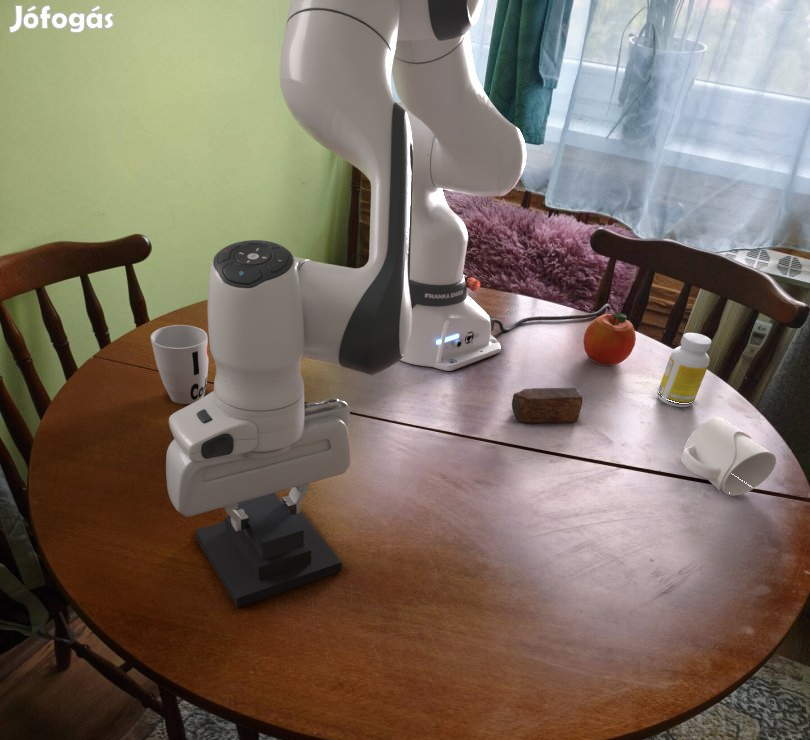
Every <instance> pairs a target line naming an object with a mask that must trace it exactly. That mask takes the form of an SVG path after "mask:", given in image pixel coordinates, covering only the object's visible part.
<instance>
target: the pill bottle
mask: <svg viewBox="0 0 810 740" xmlns="http://www.w3.org/2000/svg"><path fill="white" fill-rule="evenodd" d="M682 335H683V336H682V338H681V340H680V346H677V347H675V348H673V350H672V351H671V353H670V356H669V358H668V361H667V364H666V367H665V369H664V372H663V375H662V378H661V381H660V384H659V387H658V390H657V398H658V399H659V400H660V401H661V402H663V403H665V405H666V404H667V405H669V406H672V407H677V408H686V407H689V406H692V405H693V404H694V402H695V400H696V397H697V395H698V392H699V390H700V387H701V384H702V383H703V380H704V378H705V375H706V373H707V370H708V367H709V365H710V362H711V359H710V356H709V354H708V353H707V352H708V351H709V350H710V348H711V345H712V339H711V338H709V337H708V336H706V335H704V334H701V333H697V332H686V333H684V334H682ZM658 391H659V393H660V394H659V393H658ZM661 395H662V396H663V397H664V398H663V397H662V396H661ZM665 398H666V399H669V400H672V401H675V402H679V403H689V402H692V401H693V402H692V403H689V404H679V403H674V402H671V401H668V400H666V399H665Z"/></svg>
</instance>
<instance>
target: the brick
mask: <svg viewBox="0 0 810 740" xmlns="http://www.w3.org/2000/svg"><path fill="white" fill-rule="evenodd" d="M583 403H584V397H583V396H582V395H581V393H580V392H579V390H578V389H577V388H576V387H537V388H536V387H535V388H534V387H533V388H523V389H522V390H520V391H518V392H515V393H514V394H513V396H512V399H511V409H512V414H513V416H514V419H515V421H516V422H519V423H523V424H567V423H576V422H578V420H579V418H580V413H581V411H582V406H583Z"/></svg>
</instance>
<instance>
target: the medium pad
mask: <svg viewBox="0 0 810 740" xmlns="http://www.w3.org/2000/svg"><path fill="white" fill-rule="evenodd" d="M224 521H225V526H226V531H227V532H228V534H229V535H230V537H231V538H232V540H233V541H234V543H235V544H236V546H237V547H238V549H239V550H240V552H241V553H242V555H243V556H244V558H245V559H246V561H247V563H248V564H249V566H250V567H251V569H252V570H253V572H254V573H255V575H256V576H257V578H258V579H259V580H263V579H266V578H269V577H272V576H274V575H277V574H280V573H283V572H286V571H289V570H292V569H295V568H298V567H301V566H304V565H307V564H310V563H311V549H310V548H309V547H308V546H307V544H306V543H305V542H304V547H301V548H298V549H295V550H292V551H289V552H286V553H283V554H280V555H277V556H274V557H271V558H268V559H264V560H263V559H262V558H261V556H260V555H259V553H258V552H257V550H256V549H255V547H254V546H253V544H252V543H251V541H250V540H249V538H248V537H247V536H246V534H245V533H244V531H243V530H241V531H237V532H236V530H235V529H234V527H233V526H232V523H231V517H230V516H229V515H227V516H224Z"/></svg>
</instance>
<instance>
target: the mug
mask: <svg viewBox="0 0 810 740" xmlns="http://www.w3.org/2000/svg"><path fill="white" fill-rule="evenodd" d="M680 459H681V460H680V461H681V462H682V464H683V466H684V467H685V468H686V469H688V470H689V471H690V472H692V473H693V474H695V475H697V476H699V477H702V478H704V479H706V480H707V481H708V482H709V483H711V485H712V486H714V487H715V488H716V489H717V490H719V491H723V492H724V494H726V495H728V496H732V497H733V496H734V497H735V496H741V495H744V494H746V493H748V492H751V491H752V490H755V488H754V487H756V488H757V487H759V486H760V485H761V484H763V483H764V482H765V481H767V479H768V478H769V476H770V475H771V474H772V473H773V471H774V469H775V467H776V464H777V457H776V455H775V454H774V453H772V452H771V451H770V450H768V449H767V448H765V447H764V446H762V445H760V444H758V443H757V442H755V440H753V438H752V437H751V436H750V435H749V434H748V433H746V432H744V431H743V430H742V429H740V428H738V427H737V426H735V425H734V424H732V423H731V422H729V421H727V420H726V419H724V418H722V417H714V418H710V419H708V420H706V421H704V422H703V423H701V424H700V425H699V426H698V427H697V428H695V430H694V431H693V432H692V433H691V434H690V436H689V437H688V439H686V442H685V445H684V447H683V453H682V455H681V457H680ZM731 473H732V474H734V475H735V476H737V477H739V479H741V480H743V482H742V481H741V480H739V479H738V478H737V477H735V476H734V475H732V474H731ZM744 481H745V483H746V482H747V484H749V485H751V486H752V487H753V488H751V487H749V486H748V485H747V484H745V483H744ZM729 492H730V494H729Z"/></svg>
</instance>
